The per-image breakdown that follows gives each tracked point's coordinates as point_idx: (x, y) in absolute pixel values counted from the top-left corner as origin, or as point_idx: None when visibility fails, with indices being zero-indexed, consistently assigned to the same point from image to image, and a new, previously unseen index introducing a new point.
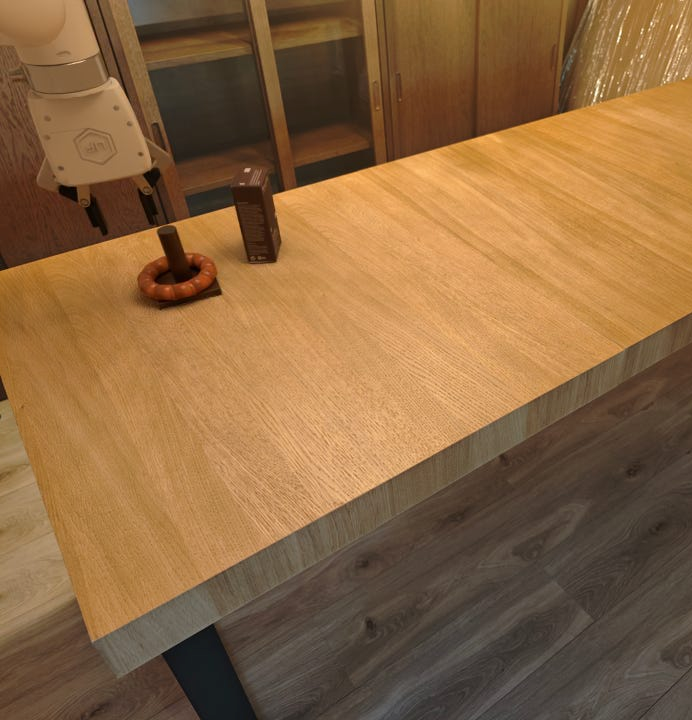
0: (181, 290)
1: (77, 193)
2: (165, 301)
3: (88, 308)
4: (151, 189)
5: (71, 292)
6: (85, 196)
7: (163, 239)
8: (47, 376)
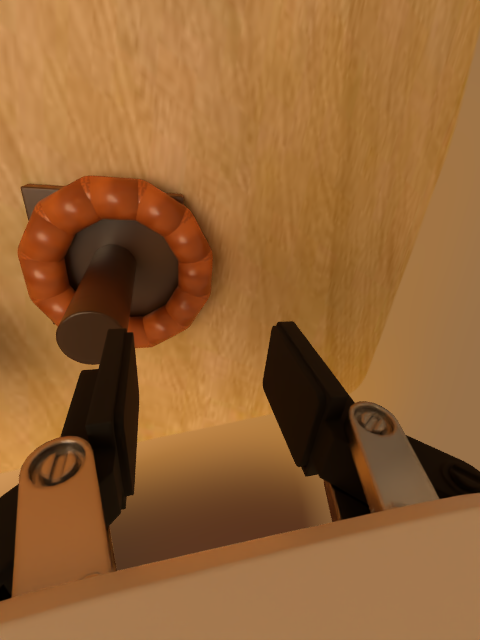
0: (116, 181)
1: (419, 461)
2: None
3: (298, 272)
4: (26, 465)
5: (306, 330)
6: (377, 445)
7: (112, 306)
8: (420, 68)
